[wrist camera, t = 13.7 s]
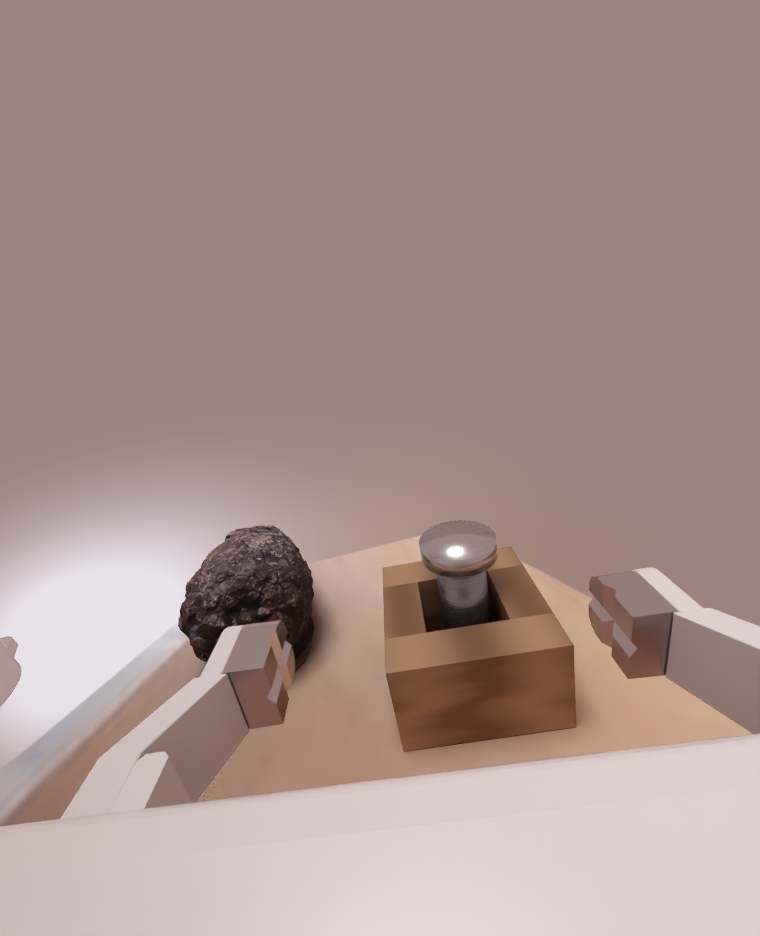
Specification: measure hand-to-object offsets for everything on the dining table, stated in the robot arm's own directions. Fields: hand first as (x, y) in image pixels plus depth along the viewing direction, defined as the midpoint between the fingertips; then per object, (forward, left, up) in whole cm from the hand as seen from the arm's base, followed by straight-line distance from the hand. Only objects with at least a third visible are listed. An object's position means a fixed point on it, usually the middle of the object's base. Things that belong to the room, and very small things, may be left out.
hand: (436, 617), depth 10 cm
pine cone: (-15, +21, -16) cm, 31 cm away
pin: (+2, +13, -16) cm, 21 cm away
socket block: (+2, +13, -16) cm, 20 cm away
